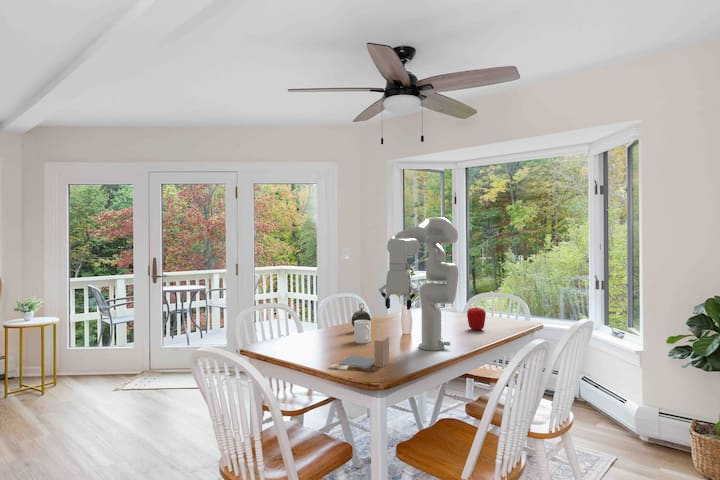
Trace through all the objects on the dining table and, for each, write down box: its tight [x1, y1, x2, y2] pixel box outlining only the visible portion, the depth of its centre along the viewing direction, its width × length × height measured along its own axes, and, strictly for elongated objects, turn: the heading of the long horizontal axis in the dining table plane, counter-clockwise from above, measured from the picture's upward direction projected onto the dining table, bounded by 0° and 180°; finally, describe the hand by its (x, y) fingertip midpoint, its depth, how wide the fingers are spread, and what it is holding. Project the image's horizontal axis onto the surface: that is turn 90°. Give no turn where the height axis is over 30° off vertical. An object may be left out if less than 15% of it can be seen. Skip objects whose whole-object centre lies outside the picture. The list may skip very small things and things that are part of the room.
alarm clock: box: [351, 303, 372, 328], centre depth 263 cm, size 11×5×16 cm, turn 121°
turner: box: [328, 363, 373, 372], centre depth 189 cm, size 18×5×1 cm, turn 71°
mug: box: [353, 320, 372, 345], centre depth 236 cm, size 9×12×11 cm
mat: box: [338, 355, 374, 367], centre depth 199 cm, size 14×14×1 cm
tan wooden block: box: [373, 335, 390, 368], centre depth 196 cm, size 4×9×11 cm, turn 161°
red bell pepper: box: [466, 306, 487, 331], centre depth 266 cm, size 11×10×14 cm
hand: (398, 308), depth 194 cm, fingers open, 8 cm apart
